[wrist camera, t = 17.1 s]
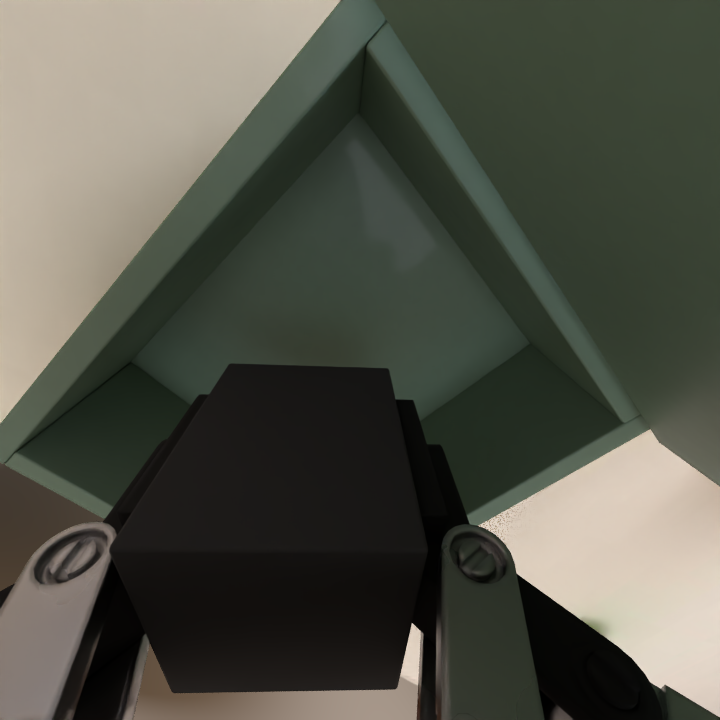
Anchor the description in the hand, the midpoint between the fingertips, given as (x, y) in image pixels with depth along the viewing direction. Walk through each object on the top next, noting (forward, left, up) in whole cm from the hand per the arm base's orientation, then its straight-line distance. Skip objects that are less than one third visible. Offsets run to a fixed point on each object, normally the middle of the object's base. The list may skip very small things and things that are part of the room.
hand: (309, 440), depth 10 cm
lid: (0, +8, +9) cm, 12 cm away
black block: (0, 0, -1) cm, 1 cm away
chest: (+1, 0, -8) cm, 8 cm away
